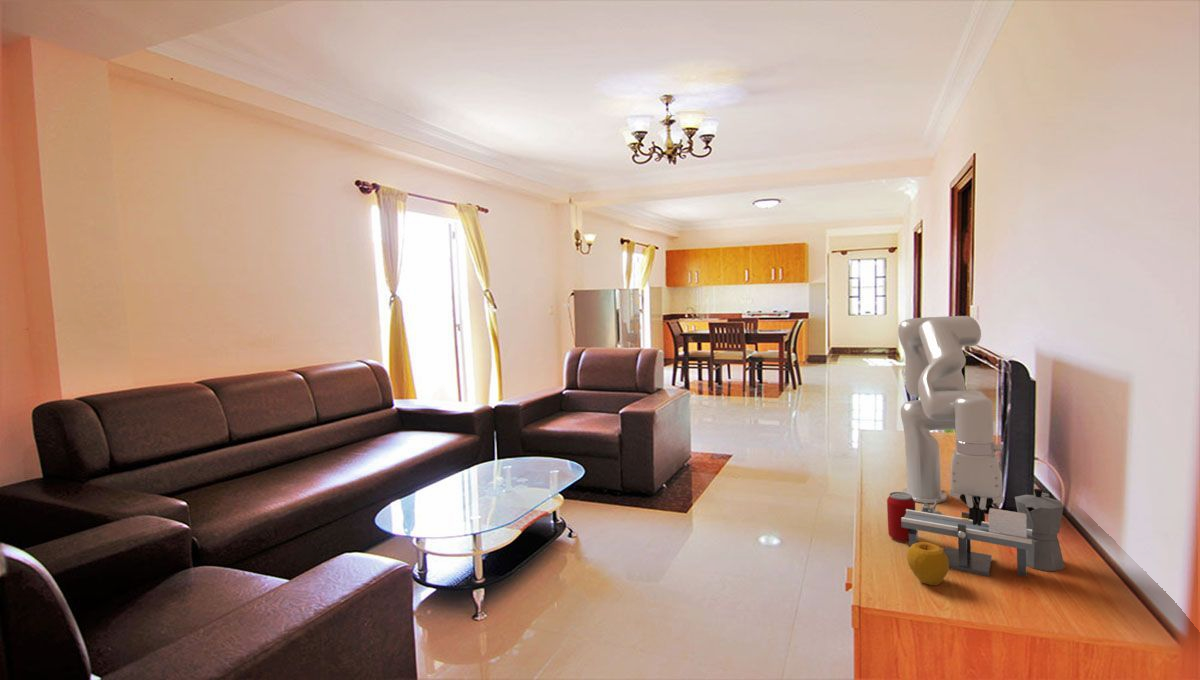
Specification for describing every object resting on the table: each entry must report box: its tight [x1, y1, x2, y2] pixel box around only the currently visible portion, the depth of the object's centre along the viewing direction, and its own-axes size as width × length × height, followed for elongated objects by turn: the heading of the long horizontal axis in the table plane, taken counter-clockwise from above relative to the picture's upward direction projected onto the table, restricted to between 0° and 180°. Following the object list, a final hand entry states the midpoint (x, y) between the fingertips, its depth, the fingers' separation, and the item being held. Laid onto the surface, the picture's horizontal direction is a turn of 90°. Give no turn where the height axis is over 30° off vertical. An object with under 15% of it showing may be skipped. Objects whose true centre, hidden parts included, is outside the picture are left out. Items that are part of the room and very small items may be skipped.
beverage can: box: [886, 491, 917, 543], centre depth 149 cm, size 7×7×12 cm
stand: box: [908, 511, 1027, 578], centre depth 133 cm, size 11×24×11 cm, turn 51°
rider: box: [988, 507, 1027, 539], centre depth 127 cm, size 4×7×5 cm, turn 51°
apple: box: [906, 541, 950, 586], centre depth 126 cm, size 8×8×9 cm
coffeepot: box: [1014, 488, 1066, 572], centre depth 131 cm, size 15×9×18 cm, turn 127°
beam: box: [901, 509, 1032, 551], centre depth 133 cm, size 7×26×2 cm, turn 51°
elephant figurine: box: [920, 499, 947, 516], centre depth 155 cm, size 10×6×9 cm
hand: (977, 523), depth 131 cm, fingers closed
